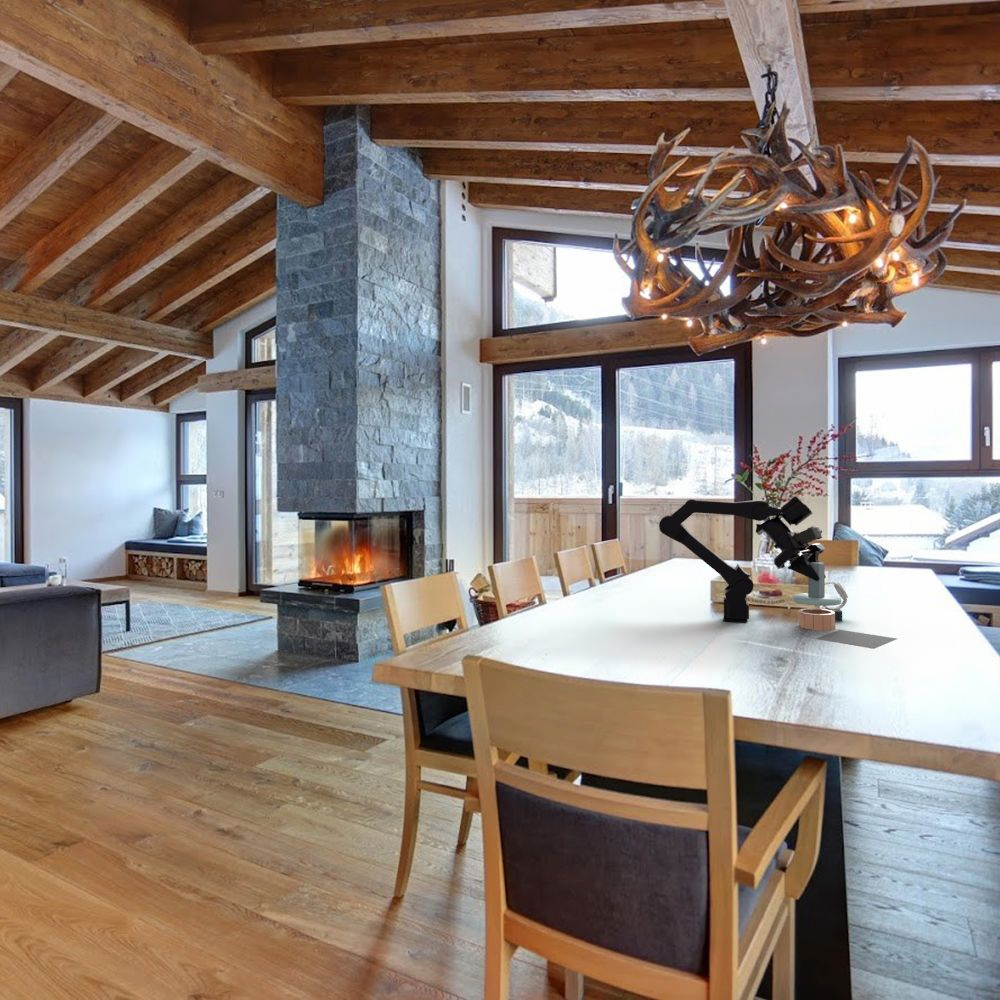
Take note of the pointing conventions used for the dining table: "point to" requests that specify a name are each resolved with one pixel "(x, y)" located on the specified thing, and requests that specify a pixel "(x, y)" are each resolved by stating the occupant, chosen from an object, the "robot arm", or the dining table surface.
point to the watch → (837, 610)
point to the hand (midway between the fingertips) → (821, 579)
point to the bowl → (816, 619)
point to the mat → (856, 639)
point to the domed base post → (817, 590)
